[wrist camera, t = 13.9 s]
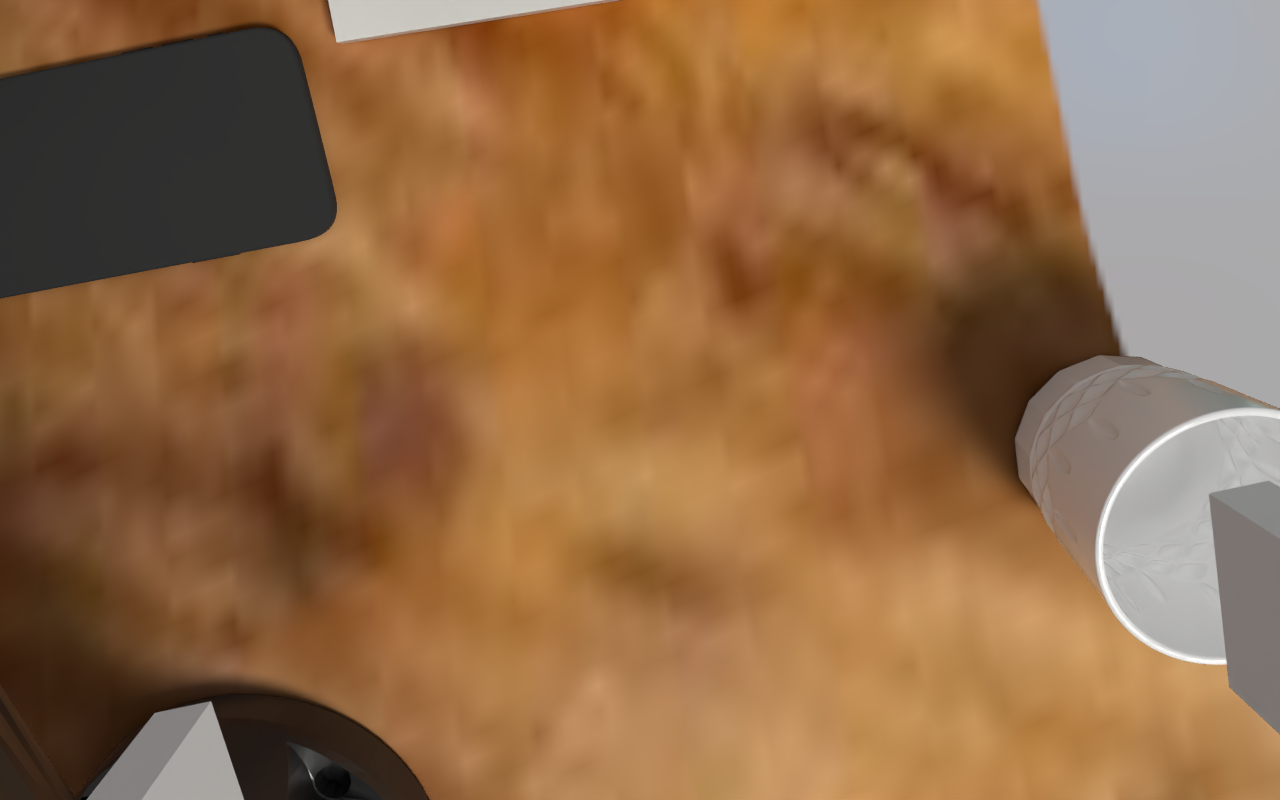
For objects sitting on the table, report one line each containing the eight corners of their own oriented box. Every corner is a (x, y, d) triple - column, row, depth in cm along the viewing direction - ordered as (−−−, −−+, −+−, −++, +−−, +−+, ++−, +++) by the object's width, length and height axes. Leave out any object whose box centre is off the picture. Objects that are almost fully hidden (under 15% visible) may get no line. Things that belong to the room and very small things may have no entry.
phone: (-130, 103, 40) (286, 18, 39) (-115, 102, 41) (294, 20, 40) (-59, 310, 42) (341, 235, 41) (-46, 307, 43) (347, 232, 42)
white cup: (986, 358, 42) (1084, 433, 33) (1205, 320, 42) (1369, 385, 32) (1008, 557, 44) (1107, 684, 35) (1218, 523, 44) (1377, 642, 34)
